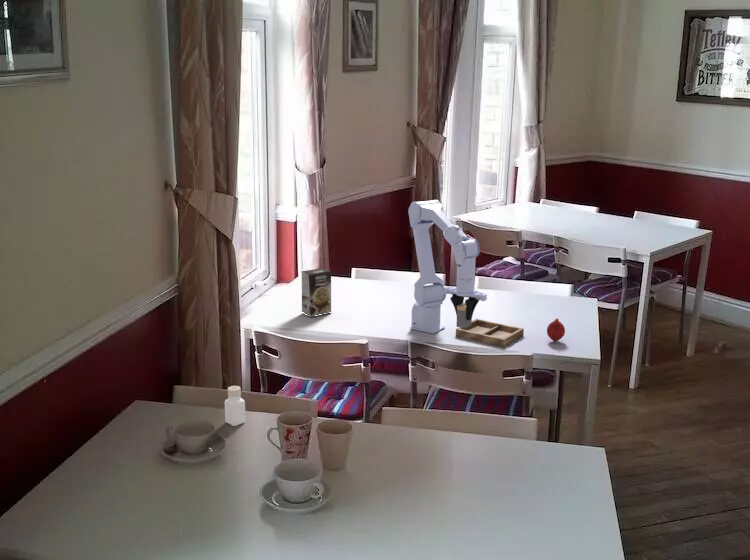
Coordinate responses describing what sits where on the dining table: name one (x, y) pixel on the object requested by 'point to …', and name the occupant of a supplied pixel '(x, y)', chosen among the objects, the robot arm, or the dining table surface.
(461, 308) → the battery cell
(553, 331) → the onion
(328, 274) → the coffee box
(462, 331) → the walnut tray
